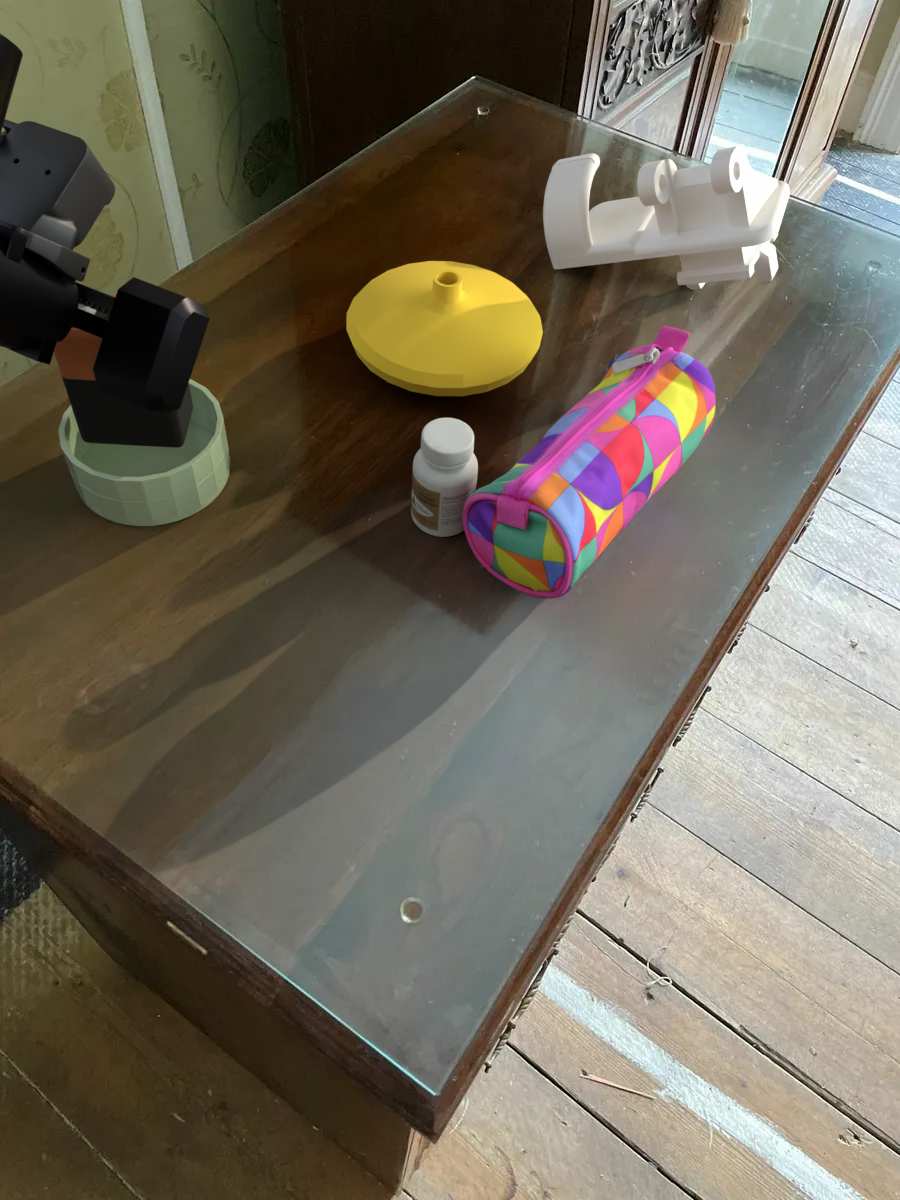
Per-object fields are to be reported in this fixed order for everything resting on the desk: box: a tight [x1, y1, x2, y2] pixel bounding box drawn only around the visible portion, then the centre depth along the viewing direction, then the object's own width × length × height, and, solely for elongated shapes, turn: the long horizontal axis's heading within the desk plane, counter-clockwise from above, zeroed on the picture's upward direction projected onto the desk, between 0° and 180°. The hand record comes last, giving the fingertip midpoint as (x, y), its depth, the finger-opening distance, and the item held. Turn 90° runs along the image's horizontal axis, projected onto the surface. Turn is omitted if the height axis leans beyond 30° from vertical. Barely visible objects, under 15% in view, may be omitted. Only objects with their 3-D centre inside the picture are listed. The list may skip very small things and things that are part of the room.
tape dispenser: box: [542, 145, 791, 291], centre depth 83 cm, size 20×11×13 cm, turn 61°
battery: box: [53, 294, 193, 448], centre depth 61 cm, size 4×7×10 cm, turn 89°
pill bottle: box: [410, 417, 479, 538], centre depth 65 cm, size 4×4×8 cm
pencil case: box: [463, 324, 717, 599], centre depth 66 cm, size 22×9×9 cm, turn 145°
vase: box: [346, 260, 544, 397], centre depth 76 cm, size 16×16×7 cm
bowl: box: [57, 378, 231, 527], centre depth 67 cm, size 11×11×4 cm
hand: (133, 336), depth 61 cm, fingers closed on battery, 7 cm apart
